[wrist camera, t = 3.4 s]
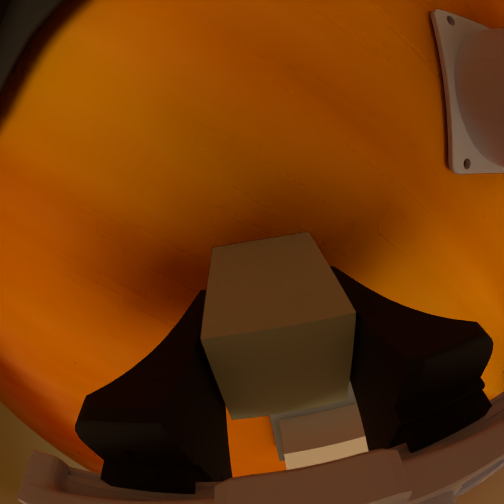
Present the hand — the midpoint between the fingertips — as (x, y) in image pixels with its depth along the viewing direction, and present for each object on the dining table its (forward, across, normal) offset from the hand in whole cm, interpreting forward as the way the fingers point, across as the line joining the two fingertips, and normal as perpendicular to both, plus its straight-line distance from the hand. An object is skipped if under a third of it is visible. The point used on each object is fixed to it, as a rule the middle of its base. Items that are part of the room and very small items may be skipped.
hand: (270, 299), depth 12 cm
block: (+1, 0, 0) cm, 1 cm away
